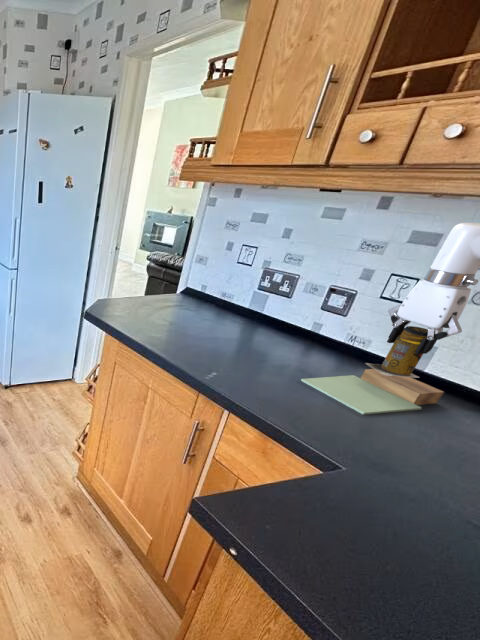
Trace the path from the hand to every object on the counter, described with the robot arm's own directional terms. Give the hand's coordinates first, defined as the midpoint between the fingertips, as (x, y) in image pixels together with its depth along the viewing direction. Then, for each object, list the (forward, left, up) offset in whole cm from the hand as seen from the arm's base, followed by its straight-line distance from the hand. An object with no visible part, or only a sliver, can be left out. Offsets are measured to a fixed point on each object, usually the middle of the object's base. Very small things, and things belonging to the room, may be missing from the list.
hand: (406, 347), depth 107 cm
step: (-6, 0, -14) cm, 15 cm away
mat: (+7, 0, -14) cm, 16 cm away
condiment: (0, 0, -7) cm, 7 cm away
